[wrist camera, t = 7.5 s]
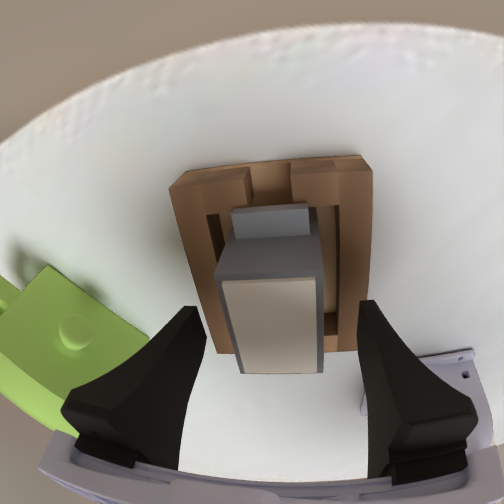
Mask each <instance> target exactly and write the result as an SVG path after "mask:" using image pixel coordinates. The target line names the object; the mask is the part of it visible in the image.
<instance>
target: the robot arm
mask: <svg viewBox="0 0 504 504" xmlns="http://www.w3.org/2000/svg"><path fill="white" fill-rule="evenodd" d="M356 335H357V347H358V356H359V362H360V367H361V372H362V377H363V383H364V388H365V393H364V398H363V402H362V406H361V410H360V414H361V415H362V416H368V477H367V479H366V480H355V481H342V482H318V483H285V482H262V481H248V480H237V479H228V478H220V477H212V476H205V475H199V474H193V473H187V472H182V471H178V464H179V453H180V445H181V438H182V431H183V426H184V420H185V415H186V410H187V405H188V401H189V398H190V394H191V391H192V388H193V386H194V383H195V380H196V377H197V374H198V371H199V368H200V365H201V362H202V359H203V355H204V351H205V345H206V340H207V336H206V333H205V330H204V327H203V324H202V321H201V318H200V315H199V312H198V309H197V306H184V307H183V308H182V309H181V310H180V311H179V312H178V313H177V314H176V315H175V316H174V317H173V318H172V319H171V320H170V321H169V322H168V323H167V324H166V325H165V326H164V327H163V328H162V329H161V330H160V331H159V332H158V333H157V334H156V335H155V336H154V337H153V338H152V339H151V340H150V341H149V342H148V343H147V344H146V345H144V346H143V347H142V348H141V349H140V350H139V351H138V352H136V353H135V354H134V355H133V356H131V357H130V358H129V359H127V360H126V361H125V362H123V363H122V364H120V365H119V366H117V367H115V368H114V369H112V370H111V371H109V372H108V373H106V374H104V375H102V376H100V377H98V378H97V379H95V380H93V381H90V382H88V383H86V384H84V385H81V386H79V387H76V388H74V389H71V391H70V393H69V394H68V396H67V398H66V400H65V402H64V403H63V405H62V407H61V409H60V412H61V414H62V416H63V417H64V419H65V420H66V421H67V422H68V423H69V424H70V425H71V426H72V427H73V428H74V429H75V430H76V431H77V432H78V433H79V436H78V438H76V437H74V436H72V435H70V434H68V433H65V432H63V431H60V430H58V429H56V430H55V431H54V433H53V435H52V437H51V439H50V441H49V443H48V445H47V447H46V450H45V451H44V454H43V455H42V458H41V460H40V462H39V464H38V466H37V468H38V469H39V470H40V471H41V472H43V473H44V474H46V475H47V476H49V477H50V478H52V479H53V480H55V481H56V482H58V483H59V484H61V485H63V486H64V487H66V488H67V489H69V490H71V491H73V492H75V493H78V494H80V495H82V496H84V497H86V498H89V499H91V500H93V501H95V502H98V503H100V504H496V503H497V502H499V501H501V500H502V499H504V477H503V472H502V467H501V462H500V458H499V453H498V449H497V446H496V445H493V446H490V444H491V441H492V434H493V421H492V414H491V410H490V407H489V404H488V401H487V398H486V395H485V392H484V389H483V386H482V384H481V381H480V378H479V376H478V373H477V370H476V368H475V365H474V362H473V358H474V356H475V352H474V350H467V351H461V352H456V353H450V354H444V355H437V356H431V357H424V358H417V357H416V356H415V355H414V353H413V352H412V351H411V350H410V349H409V348H408V347H407V346H406V344H405V343H404V342H403V341H402V339H401V338H400V337H399V336H398V334H397V333H396V332H395V330H394V329H393V328H392V326H391V325H390V324H389V322H388V321H387V319H386V318H385V316H384V315H383V313H382V312H381V310H380V308H379V307H378V305H377V304H376V302H375V301H374V300H363V301H360V302H359V313H358V324H357V334H356Z"/></svg>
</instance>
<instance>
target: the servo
mask: <svg viewBox="0 0 504 504" xmlns="http://www.w3.org/2000/svg"><path fill="white" fill-rule="evenodd" d="M231 217H232V222H233V227H232V229H231V232H230V234H229V237H228V239H227V242H226V244H225V247H224V249H223V252H222V254H221V257H220V259H219V262H218V264H217V267H216V269H215V272H214V274H213V275H214V279H215V283H216V287H217V290H218V294H219V298H220V302H221V305H222V309H223V313H224V316H225V320H226V324H227V327H228V331H229V335H230V338H231V342H232V345H233V349H234V352H235V356H236V359H237V363H238V366H239V369H240V373H241V374H302V373H323V360H324V279H323V262H322V252H321V243H320V235H319V226H318V218H317V210H316V207H308V203H300V204H286V205H273V206H260V207H248V208H237V209H233V211H232V214H231Z"/></svg>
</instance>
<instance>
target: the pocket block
mask: <svg viewBox="0 0 504 504" xmlns="http://www.w3.org/2000/svg"><path fill="white" fill-rule="evenodd" d="M168 189H169V193H170V197H171V201H172V205H173V208H174V212H175V216H176V220H177V223H178V227H179V231H180V234H181V238H182V242H183V245H184V249H185V252H186V256H187V259H188V263H189V266H190V269H191V273H192V276H193V279H194V283H195V286H196V289H197V293H198V296H199V299H200V302H201V305H202V309H203V312H204V315H205V318H206V321H207V324H208V327H209V330H210V333H211V336H212V339H213V342H214V345H215V348H216V351H217V354H235V352H234V349H233V345H232V342H231V338H230V335H229V331H228V327H227V324H226V320H225V316H224V313H223V309H222V305H221V302H220V298H219V294H218V290H217V287H216V283H215V279H214V275H213V274H214V272H215V269H216V267H217V264H218V262H219V259H220V257H221V254H222V252H223V249H224V247H225V244H226V242H227V239H228V237H229V234H230V232H231V229H232V227H233V222H232V217H231V214H232V211H233V209H237V208H248V207H260V206H273V205H286V204H300V203H308V207H316V210H317V218H318V226H319V235H320V243H321V252H322V262H323V279H324V353H325V352H343V351H357V350H358V347H357V335H356V334H357V324H358V313H359V302H360V301H363V300H367V294H368V283H369V270H370V255H371V235H372V197H373V175H372V169H371V168H370V167H369V165H368V164H367V163H366V161H365V160H364V159H363V157H362V156H361V155H359V156H335V157H317V158H303V159H289V160H278V161H267V162H257V163H247V164H238V165H230V166H222V167H214V168H206V169H199V170H192V171H186V172H185V173H184V174H183V175H182V176H181V177H180V178H179V179H178V180H177V181H176V182H175V183H174V184H172V185H171V186H170V187H169V188H168Z"/></svg>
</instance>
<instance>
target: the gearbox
mask: <svg viewBox="0 0 504 504" xmlns="http://www.w3.org/2000/svg"><path fill="white" fill-rule="evenodd" d="M148 342H149V338H148V337H147V336H146V335H144V334H143V333H142V332H140V331H139V330H138V329H136V328H135V327H133V326H132V325H131V324H129V323H128V322H126V321H125V320H123V319H122V318H121V317H119V316H118V315H116V314H115V313H113V312H112V311H111V310H109V309H108V308H106V307H105V306H104V305H102V304H101V303H100V302H98V301H97V300H95V299H94V298H93V297H91V296H90V295H88V294H87V293H86V292H84V291H83V290H81V289H80V288H79V287H77V286H76V285H75V284H73V283H72V282H71V281H69V280H68V279H67V278H65V277H64V276H62V275H61V274H60V273H58V272H57V271H56V270H54V269H53V268H51V267H49V266H46V267H45V268H44V269H43V270H42V271H41V272H40V273H39V274H38V275H37V276H36V277H35V278H34V279H33V280H32V281H31V282H30V283H29V284H28V285H27V286H26V287H25V289H24V290H23V291H20V290H19V289H18V288H16V287H15V286H14V285H12V284H11V283H10V282H9V281H7V280H6V279H5V278H3V277H2V276H1V275H0V393H2V394H3V395H4V396H5V397H6V398H8V399H9V400H10V401H11V402H13V403H14V404H15V405H16V406H18V407H19V408H20V409H21V410H23V411H24V412H25V413H27V414H28V415H30V416H31V417H32V418H34V419H35V420H37V421H38V422H40V423H41V424H43V425H44V426H46V427H48V428H49V429H51V430H53V431H55V430H56V429H58V430H60V431H63V432H65V433H68V434H70V435H72V436H74V437H76V438H78V436H79V433H78V432H77V431H76V430H75V429H74V428H73V427H72V426H71V425H70V424H69V423H68V422H67V421H66V420H65V419H64V417H63V416H62V414H61V412H60V409H61V407H62V405H63V403H64V402H65V400H66V398H67V396H68V394H69V393H70V391H71V389H74V388H76V387H79V386H81V385H84V384H86V383H88V382H90V381H93V380H95V379H97V378H98V377H100V376H102V375H104V374H106V373H108V372H109V371H111V370H112V369H114V368H115V367H117V366H119V365H120V364H122V363H123V362H125V361H126V360H127V359H129V358H130V357H131V356H133V355H134V354H135V353H136V352H138V351H139V350H140V349H141V348H142V347H143V346H144V345H146V344H147V343H148Z"/></svg>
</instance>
